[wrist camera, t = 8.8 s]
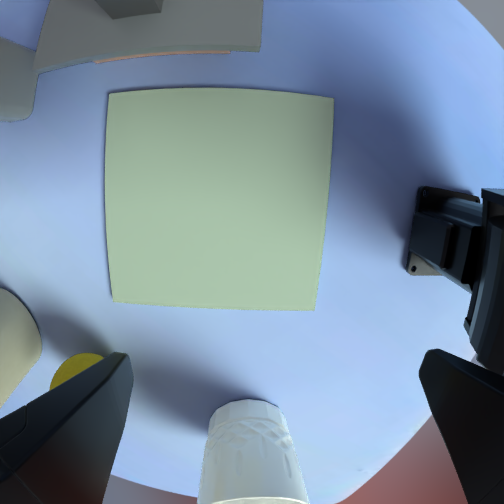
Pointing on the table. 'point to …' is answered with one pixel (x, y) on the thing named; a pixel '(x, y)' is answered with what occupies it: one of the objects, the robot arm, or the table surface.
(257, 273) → the mat
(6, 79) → the power adapter
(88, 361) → the lemon
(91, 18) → the lid
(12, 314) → the travel mug
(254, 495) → the white cup
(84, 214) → the table surface
